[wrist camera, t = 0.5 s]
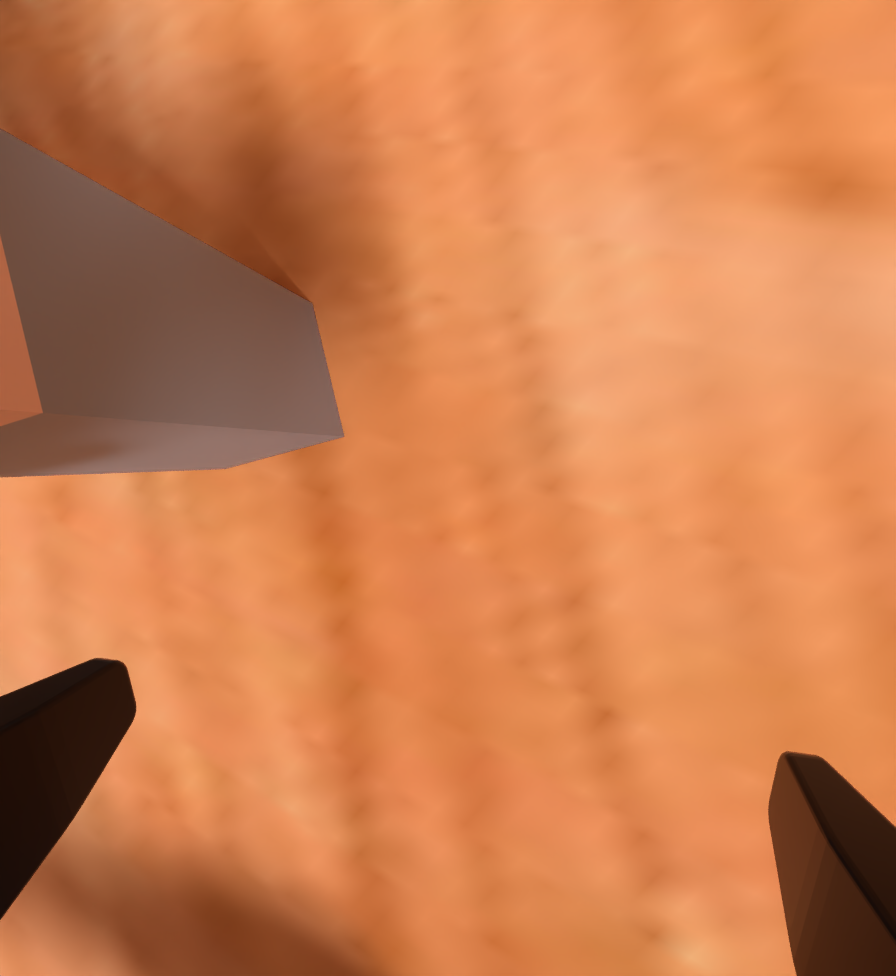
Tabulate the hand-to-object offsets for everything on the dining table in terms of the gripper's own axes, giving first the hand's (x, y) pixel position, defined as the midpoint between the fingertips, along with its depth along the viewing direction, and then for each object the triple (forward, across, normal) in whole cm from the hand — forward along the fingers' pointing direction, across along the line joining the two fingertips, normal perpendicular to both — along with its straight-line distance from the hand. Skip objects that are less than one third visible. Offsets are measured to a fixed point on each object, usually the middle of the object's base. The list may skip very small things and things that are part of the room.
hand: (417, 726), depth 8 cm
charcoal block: (+15, +10, -1) cm, 18 cm away
